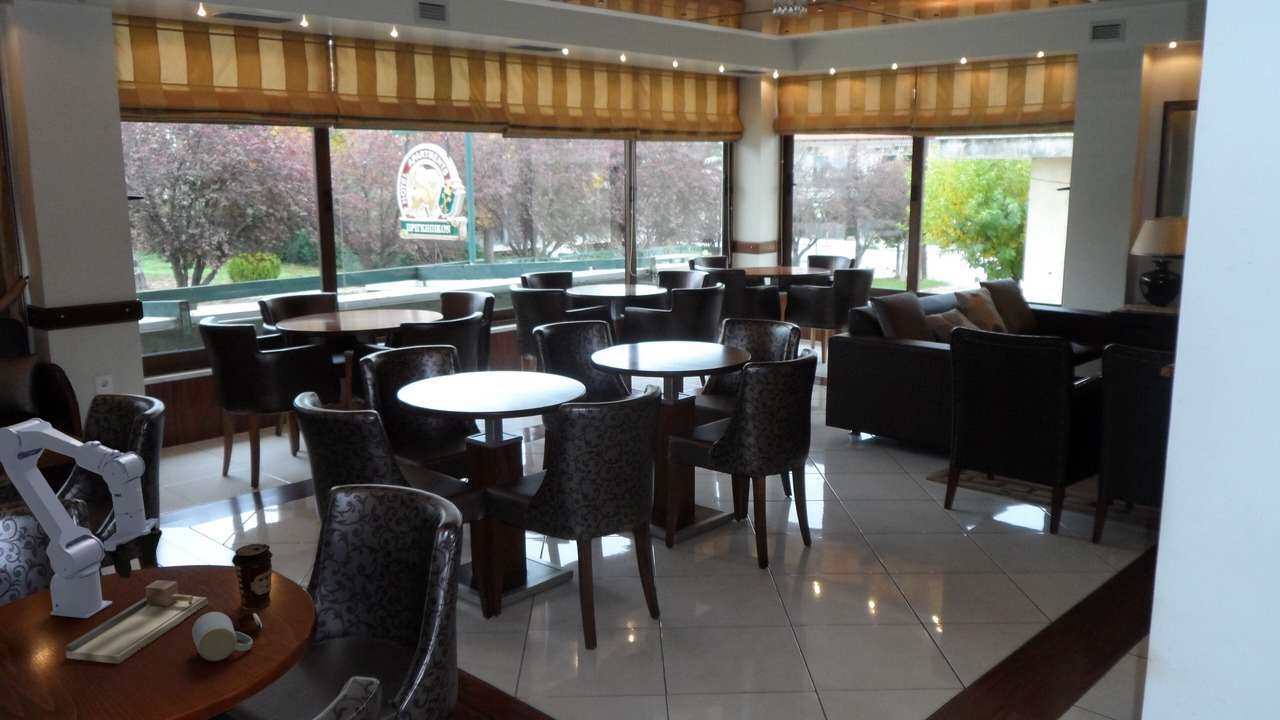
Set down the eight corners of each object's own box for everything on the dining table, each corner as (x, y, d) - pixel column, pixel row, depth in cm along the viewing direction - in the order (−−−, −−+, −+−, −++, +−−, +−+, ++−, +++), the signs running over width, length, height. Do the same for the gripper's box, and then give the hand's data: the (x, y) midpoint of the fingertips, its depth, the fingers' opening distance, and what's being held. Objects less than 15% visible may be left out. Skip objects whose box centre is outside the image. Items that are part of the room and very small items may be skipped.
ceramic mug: (199, 667, 196) (197, 631, 194) (193, 651, 203) (190, 615, 201) (256, 654, 201) (254, 618, 200) (248, 638, 208) (246, 603, 207)
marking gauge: (147, 604, 220) (145, 587, 219) (159, 596, 224) (157, 580, 223) (186, 608, 218) (184, 590, 217) (197, 600, 222) (196, 583, 221)
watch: (267, 634, 210) (266, 618, 209) (244, 640, 207) (242, 624, 207) (255, 621, 216) (254, 605, 215) (233, 627, 213) (231, 611, 213)
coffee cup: (284, 596, 228) (279, 542, 225) (267, 612, 220) (262, 556, 217) (247, 595, 229) (242, 541, 226) (229, 611, 221) (223, 555, 218)
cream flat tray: (66, 658, 200) (65, 645, 200) (160, 599, 227) (159, 588, 227) (118, 663, 198) (117, 651, 197) (207, 603, 225) (206, 592, 224)
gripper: (121, 522, 207) (130, 584, 209) (168, 500, 221) (175, 558, 223) (92, 521, 208) (100, 583, 211) (140, 498, 222) (148, 557, 225)
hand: (137, 570), depth 217 cm, fingers open, 7 cm apart
